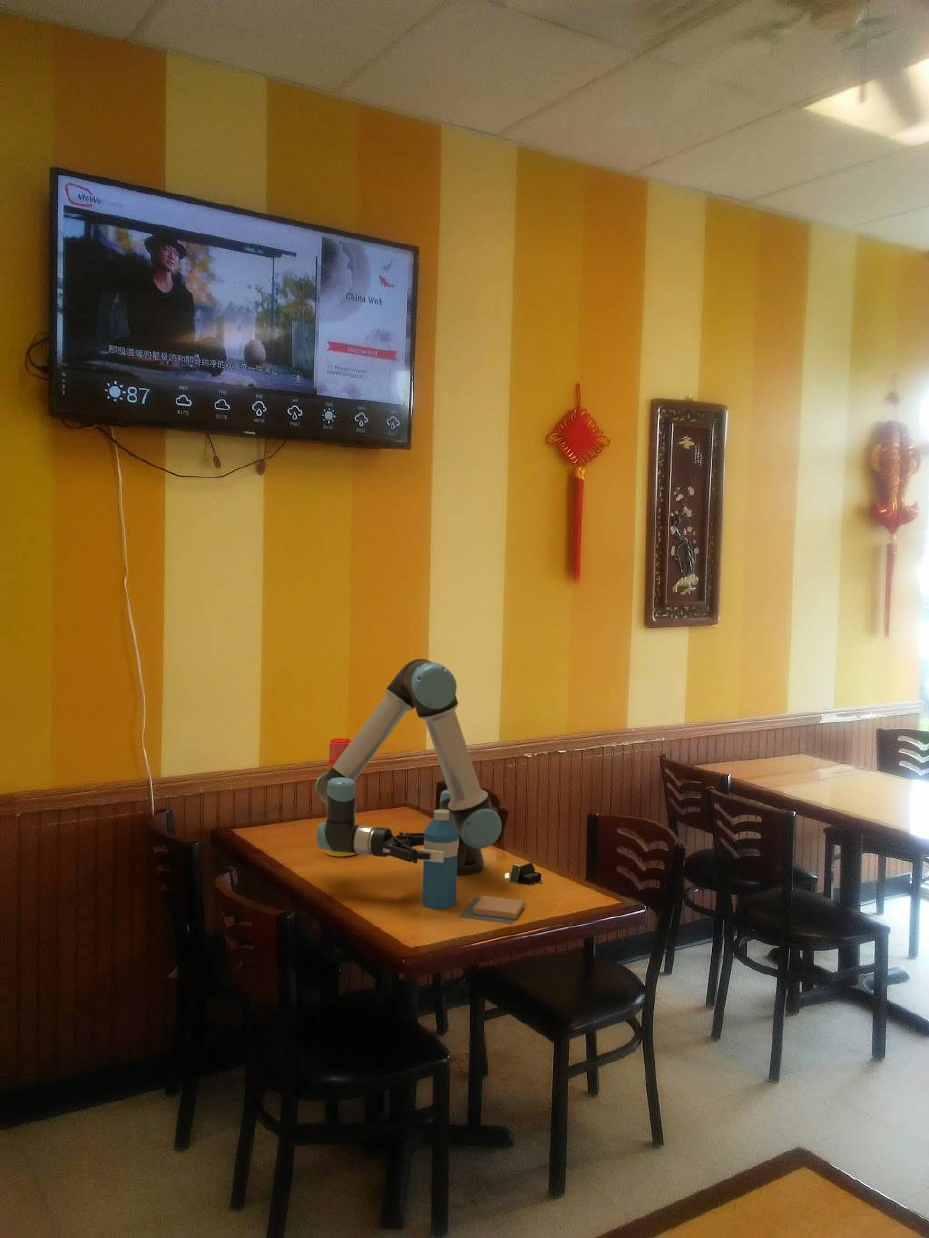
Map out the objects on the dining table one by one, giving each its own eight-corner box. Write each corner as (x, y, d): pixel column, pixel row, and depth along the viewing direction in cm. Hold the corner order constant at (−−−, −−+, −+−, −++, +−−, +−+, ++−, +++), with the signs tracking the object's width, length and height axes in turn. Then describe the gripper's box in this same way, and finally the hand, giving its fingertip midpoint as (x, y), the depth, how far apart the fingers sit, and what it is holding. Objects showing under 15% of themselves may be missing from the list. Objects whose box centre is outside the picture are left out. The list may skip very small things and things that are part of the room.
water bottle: (415, 908, 265) (418, 813, 263) (428, 897, 273) (431, 805, 272) (449, 913, 262) (452, 817, 260) (461, 902, 271) (464, 809, 269)
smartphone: (521, 870, 301) (522, 852, 301) (564, 882, 291) (564, 863, 291) (490, 882, 289) (490, 863, 289) (533, 894, 280) (534, 875, 279)
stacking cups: (328, 858, 305) (331, 743, 303) (322, 848, 315) (325, 737, 312) (362, 856, 308) (365, 742, 306) (355, 846, 318) (358, 736, 316)
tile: (483, 895, 269) (524, 900, 266) (483, 901, 269) (523, 906, 267) (473, 907, 260) (515, 913, 257) (473, 914, 260) (515, 919, 257)
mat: (474, 899, 273) (475, 896, 273) (526, 905, 269) (526, 903, 269) (458, 919, 258) (458, 916, 258) (512, 926, 254) (512, 923, 254)
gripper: (389, 842, 284) (463, 851, 278) (356, 868, 260) (436, 878, 254) (390, 816, 283) (464, 823, 278) (357, 839, 259) (437, 848, 254)
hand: (451, 849), depth 266 cm, fingers open, 13 cm apart
